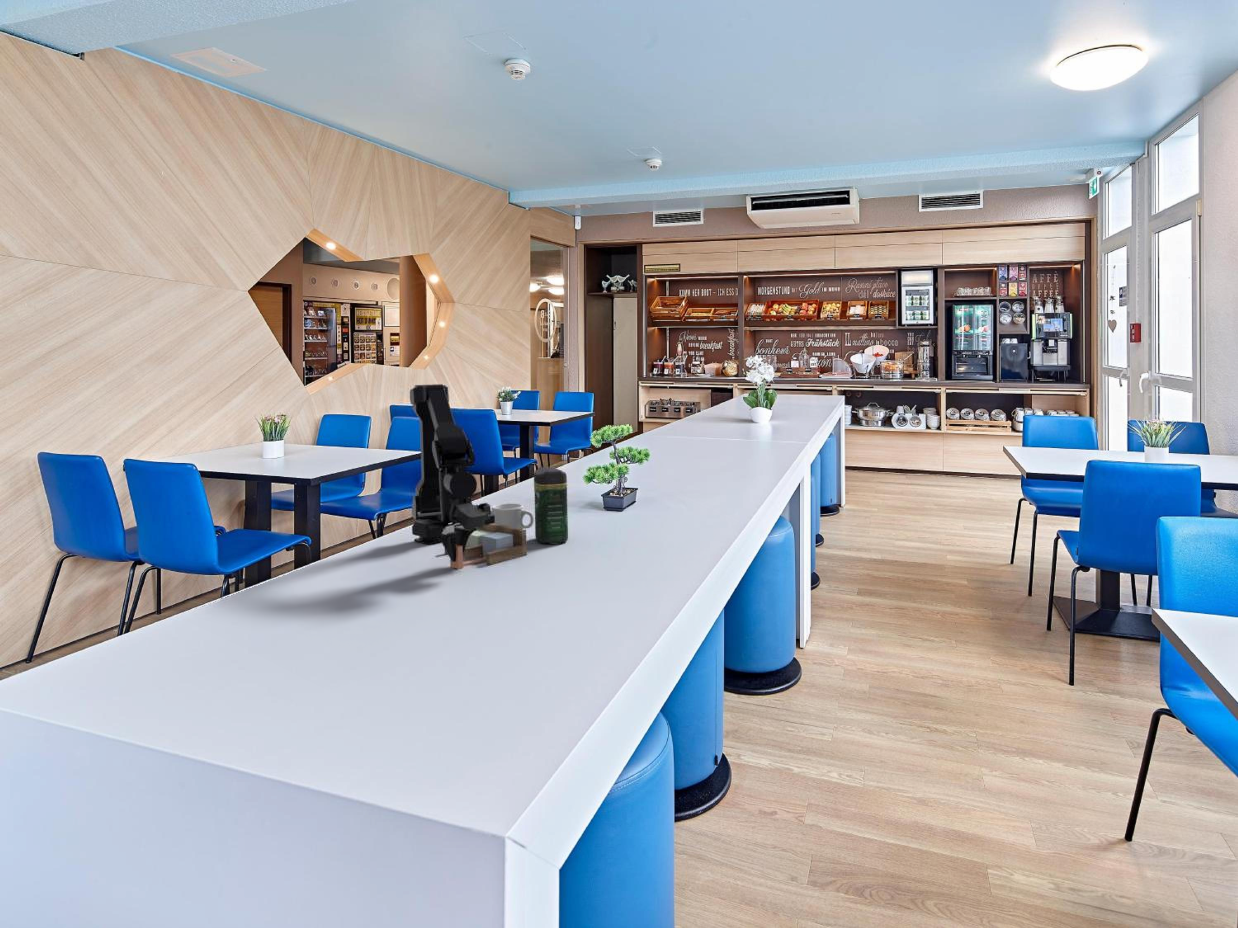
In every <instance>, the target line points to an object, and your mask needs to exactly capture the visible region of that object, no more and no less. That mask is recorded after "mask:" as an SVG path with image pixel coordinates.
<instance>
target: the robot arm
mask: <svg viewBox="0 0 1238 928" xmlns="http://www.w3.org/2000/svg"><path fill="white" fill-rule="evenodd" d="M409 401H410V405H412V410H413V411H414V413H415V415H416V416H417V418H418V420H419V431H420V432H419V433H420V437H419V438H420V440H419V441H420V464H421V465H420V467H421V468H420V470H421V478H420V480H419V481H418V483H417V485H416V486H415V493H414V494H415V495H413V498H412V504H411V515H412V516H411V517H412V518H413V519H414V520H415V521H414V523H413V524H412V526H411V534H412V535H413V536H418V537H417V538H414V540H413V541H414V542H418V543H422V544H425V545H433V544H437V543H441V544H442V546H443V548H445V549H444V551H445V550H446V551H447V553H448V554H447V555H448V557H449V560H450V559H451V561H453V562H455V561H456V544H457V545H461V546H462V549H463V554H465V547H466V543H467V541H468V538H469V536H470V535H471V534H472V533H473V532H474V531H477V529H478V527H480V528H481V527H483V526H484V525H489V524H493V523H495V515H494V514H493V512H492V508H491V504H489V503H488V502H483V503H479V504H473V502H472V496H473V495H474V494H475V492H476V491H477V488H478V487H477V486H478V481H477V480H476V477H475V476H474V475H473V474H472V473H470V471H468V467H475V462H476V456H475V453H474V448H473V446H472V443H471V442H470V439H469V438H467V436H466V433H465V431H464V429H463V428H462V427H460V426H458V425H457V424H456V422H455V419H454V416H453V415H454V414H453V412H452V409H451V406H450V403H449V402H450V396H449V386H447V385H445V384H444V385H443V384H441V383H440V384H439V383H438V384H436V383H435V384H415V385H414V387H413V388H411V389H409Z"/></svg>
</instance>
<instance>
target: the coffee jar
mask: <svg viewBox="0 0 1238 928" xmlns="http://www.w3.org/2000/svg"><path fill="white" fill-rule="evenodd" d="M567 479H568V478H567V473H566V472H565V471H563V470H562V469H559V468H557V467H555V466H541V467H539V468H537V469H536V470H535V471H534V473H533V489H534V490H533V491H534V493H533V494H534V531H535V532H534V535H535V539H536V541H538V542H539V543H541V544H551V545H557V544H561V543H563V542H564V543H565V542H567V541H568V539H569V524H568V523H569V522H568V521H569V520H568V519H569V518H568V517H569V516H568V515H569V514H568V480H567Z"/></svg>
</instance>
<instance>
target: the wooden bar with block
mask: <svg viewBox="0 0 1238 928" xmlns="http://www.w3.org/2000/svg"><path fill="white" fill-rule="evenodd" d="M482 546H483V556H482V557H480V558H479V557H478V558H475V559H471V560H469V561H464V557H463V555H464V553H463V549H462V546H461V545H457V544H456V561H455V562H453V561H451V559H450V558H449V564H450V567H451V568H454V569H457V570H460V569H463V568H464V567H467V566H470V565H473V564H477V563H480V562H486V553H489V552H493V551H497V550H501V549H505V548H509V547H513V535H511V534H506V533H501V532H496V533H492V534H488V535H484V536H482Z"/></svg>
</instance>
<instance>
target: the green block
mask: <svg viewBox="0 0 1238 928" xmlns="http://www.w3.org/2000/svg"><path fill="white" fill-rule="evenodd" d="M492 533H494V532H489V531H484V530H477V531H474V532H473V533H472V534H471V535H470V536H469V538H468V541H467V543H466V547H465V548H468V547H472V546H476V545H480V544H482V536H484V535H488V534H492Z"/></svg>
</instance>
